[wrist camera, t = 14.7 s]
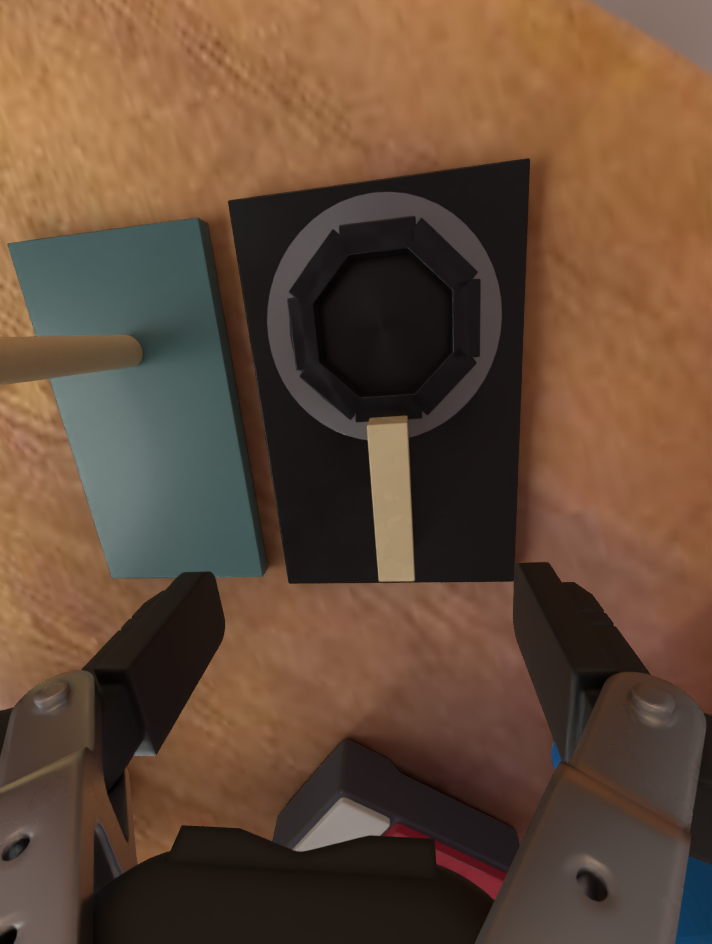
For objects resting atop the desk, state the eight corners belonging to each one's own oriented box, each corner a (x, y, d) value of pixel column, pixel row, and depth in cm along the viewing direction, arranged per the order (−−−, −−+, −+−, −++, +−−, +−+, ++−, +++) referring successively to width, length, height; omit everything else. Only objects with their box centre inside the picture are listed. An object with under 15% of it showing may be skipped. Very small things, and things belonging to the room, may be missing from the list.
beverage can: (653, 775, 28) (823, 1081, 16) (551, 780, 29) (645, 1069, 18) (651, 700, 26) (841, 988, 15) (542, 709, 27) (640, 982, 16)
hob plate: (292, 574, 26) (287, 585, 25) (235, 206, 20) (226, 199, 19) (509, 572, 24) (514, 582, 23) (523, 166, 18) (531, 156, 17)
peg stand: (121, 570, 27) (-63, 726, 17) (24, 247, 21) (-365, 163, 11) (268, 568, 26) (170, 736, 15) (207, 222, 20) (-23, 97, 9)
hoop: (285, 238, 19) (265, 223, 16) (476, 214, 18) (489, 193, 15) (324, 554, 24) (314, 582, 21) (474, 552, 23) (483, 581, 20)
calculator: (438, 961, 31) (260, 885, 29) (432, 886, 35) (275, 816, 33) (535, 894, 27) (338, 802, 25) (516, 820, 31) (345, 735, 29)
